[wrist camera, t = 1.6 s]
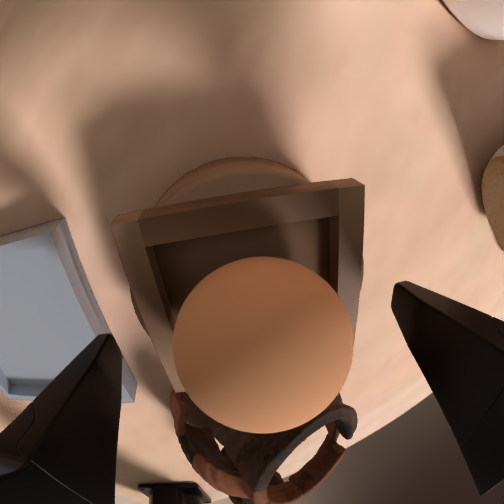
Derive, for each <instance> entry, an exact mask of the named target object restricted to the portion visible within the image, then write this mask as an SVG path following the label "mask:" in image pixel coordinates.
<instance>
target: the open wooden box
mask: <svg viewBox="0 0 504 504" xmlns="http://www.w3.org/2000/svg"><path fill="white" fill-rule="evenodd" d="M364 197H365V185H363V184H362V183H360V182H358V181H357V180H355V179H353V178H349V179H340V180H331V181H322V182H313V183H310V182H309V181H308V180H306V179H305V178H304V177H302V176H301V175H300V174H298V173H297V172H295V171H294V170H292V169H290V168H288V167H286V166H284V165H282V164H279V163H276V162H273V161H270V160H266V159H261V158H254V157H234V158H226V159H221V160H217V161H213V162H210V163H208V164H205V165H202V166H200V167H198V168H196V169H194V170H192V171H190V172H189V173H187V174H186V175H184V176H183V177H182V178H180V179H179V180H178V181H176V182H175V183H174V184H173V185H172V186H171V187H170V188H169V189H168V190H167V191H166V192H165V194H164V195H163V196H162V198H161V199H160V200H159V202H158V204H157V205H156V207H155V208H150V209H145V210H140V211H135V212H131V213H126V214H121V215H118V216H117V217H116V218H115V220H114V221H113V223H112V224H111V225H110V226H111V229H112V233H113V236H114V239H115V242H116V245H117V249H118V252H119V255H120V258H121V261H122V264H123V267H124V270H125V273H126V275H127V278H128V281H129V284H130V292H131V299H132V303H133V306H134V309H135V313H136V315H137V317H138V319H139V321H140V323H141V325H142V326H143V328H144V329H145V331H146V332H147V334H148V335H149V336H150V338H151V340H152V342H153V345H154V347H155V349H156V352H157V354H158V356H159V358H160V361H161V363H162V365H163V367H164V369H165V372H166V374H167V376H168V378H169V380H170V382H171V384H172V386H173V388H174V390H175V392H176V393H178V392H186V391H185V389H184V388H183V386H182V384H181V382H180V379H179V377H178V374H177V371H176V368H175V364H174V358H173V332H174V327H175V323H176V319H177V316H178V314H179V312H180V310H181V307H182V305H183V303H184V301H185V300H186V298H187V297H188V295H189V294H190V292H191V291H192V290H193V289H194V288H195V287H196V285H197V284H198V283H199V282H200V281H201V280H203V279H204V278H205V277H206V276H207V275H209V274H210V273H212V272H213V271H215V270H216V269H218V268H220V267H222V266H224V265H226V264H228V263H231V262H234V261H236V260H240V259H245V258H250V257H275V258H283V259H286V260H290V261H293V262H296V263H298V264H301V265H303V266H305V267H307V268H309V269H310V270H312V271H314V272H315V273H317V274H318V275H319V276H320V277H321V278H323V279H324V280H325V281H326V282H327V283H328V284H329V285H330V286H331V287H332V288H333V289H334V291H335V292H336V293H337V295H338V296H339V297H340V299H341V301H342V303H343V304H344V307H345V309H346V311H347V313H348V316H349V319H350V323H351V326H352V333H353V346H354V339H355V331H356V322H357V314H358V304H359V294H360V290H361V286H362V280H363V255H362V254H363V234H364Z"/></svg>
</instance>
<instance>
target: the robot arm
mask: <svg viewBox="0 0 504 504" xmlns="http://www.w3.org/2000/svg"><path fill="white" fill-rule="evenodd" d="M391 308H392V311H393V314H394V316H395V318H396V320H397V322H398V325H399V327H400V329H401V331H402V334H403V336H404V338H405V341H406V343H407V345H408V347H409V349H410V351H411V353H412V355H413V356H414V358H415V360H416V362H417V364H418V365H419V367H420V369H421V371H422V373H423V375H424V376H425V378H426V380H427V382H428V384H429V386H430V388H431V390H432V392H433V394H434V396H435V398H436V399H437V401H438V403H439V405H440V407H441V409H442V411H443V413H444V416H445V418H446V420H447V422H448V424H449V426H450V428H451V430H452V432H453V434H454V436H455V439H456V441H457V443H458V445H459V446H460V450H461V452H462V455H463V457H464V459H465V462H466V464H467V466H468V469H469V471H470V473H471V476H472V478H473V481H474V483H475V485H476V488H477V491H478V493H479V495H480V496H482V495H484V494H485V493H487V492H488V491H490V490H491V489H492V488H494V487H495V486H496V485H497V484H499V483H500V482H502V481H503V480H504V321H502V320H499V319H497V318H495V317H492V316H490V315H488V314H485V313H483V312H481V311H478V310H476V309H474V308H471V307H469V306H467V305H464V304H462V303H460V302H457V301H455V300H452V299H450V298H448V297H445V296H443V295H440V294H438V293H435V292H433V291H431V290H428V289H426V288H423V287H421V286H418V285H416V284H413V283H411V282H409V281H402V282H398V283H396V284H395V285H394V289H393V295H392V301H391ZM121 400H122V353H121V351H120V349H119V347H118V345H117V343H116V341H115V339H114V337H113V335H112V334H111V333H104V334H99V335H98V336H96V337H95V338H94V339H93V340H92V341H91V342H90V343H89V344H88V345H87V346H86V347H85V348H84V349H83V350H82V351H81V352H80V353H79V354H78V355H77V356H76V357H75V358H74V359H73V360H72V361H71V362H70V363H69V364H68V365H67V366H66V367H65V368H64V369H63V370H62V371H61V372H60V373H59V374H58V375H57V376H56V377H55V378H54V379H53V380H52V381H51V382H50V383H49V384H48V385H47V387H46V388H45V389H44V390H43V391H42V392H41V393H40V394H39V395H38V396H37V397H36V398H35V399H34V400H33V402H31V403H30V404H29V405H28V406H27V407H26V409H25V410H24V411H23V412H22V413H21V414H20V415H19V416H18V417H17V418H16V419H15V420H14V421H13V422H12V423H11V424H9V425H8V426H7V427H6V428H5V429H4V430H3V431H2V432H1V433H0V504H115V475H116V456H117V442H118V430H119V420H120V410H121ZM138 490H140V491H141V492H142V493H144V494H145V495H146V496H148V497H149V504H206V503H211V499H210V497H209V496H208V495H207V494H206V493H205V492H204V491H203V490H202V489H201V488H200V486H199V485H197V484H184V485H141V484H140V485H138ZM503 504H504V503H503Z"/></svg>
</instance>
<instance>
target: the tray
mask: <svg viewBox="0 0 504 504" xmlns="http://www.w3.org/2000/svg"><path fill="white" fill-rule="evenodd" d="M104 333H111V331H110V329H109V327H108V325H107V323H106V321H105V319H104V316H103V314H102V312H101V310H100V308H99V305H98V303H97V301H96V299H95V296H94V294H93V292H92V289H91V287H90V284H89V282H88V280H87V277H86V275H85V272H84V269H83V267H82V264H81V262H80V259H79V256H78V254H77V251H76V248H75V245H74V242H73V240H72V237H71V234H70V231H69V228H68V225H67V221H66V218H63V219H59V220H56V221H52V222H48V223H44V224H41V225H37V226H34V227H30V228H27V229H23V230H20V231H16V232H13V233H10V234H6V235H3V236H0V389H1V391H2V392H3V393H4V394H5V396H6V397H7V398H8V399H16V400H27V401H33V400H34V399H35V398H36V397H37V396H38V395H39V394H40V393H41V392H42V391H43V390H44V389H45V388H46V387H47V385H48V384H49V383H50V382H51V381H52V380H53V379H54V378H55V377H56V376H57V375H58V374H59V373H60V372H61V371H62V370H63V369H64V368H65V367H66V366H67V365H68V364H69V363H70V362H71V361H72V360H73V359H74V358H75V357H76V356H77V355H78V354H79V353H80V352H81V351H82V350H83V349H84V348H85V347H86V346H87V345H88V344H89V343H90V342H91V341H92V340H93V339H94V338H95V337H96V336H98V335H99V334H104ZM111 334H112V333H111ZM136 388H137V381H136V379H135V377H134V375H133V374H132V372H131V370H130V368H129V366H128V364H127V363H126V361H125V359H124V357H123V355H122V400H121V403H134V401H135V394H136Z"/></svg>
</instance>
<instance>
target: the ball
mask: <svg viewBox="0 0 504 504" xmlns="http://www.w3.org/2000/svg"><path fill="white" fill-rule="evenodd" d="M352 356H353V333H352V326H351V323H350V319H349V316H348V313H347V311H346V309H345V307H344V304H343V303H342V301H341V299H340V297H339V296H338V295H337V293H336V292H335V291H334V289H333V288H332V287H331V286H330V285H329V284H328V283H327V282H326V281H325V280H324V279H323V278H321V277H320V276H319V275H318V274H317V273H315V272H314V271H312V270H310V269H309V268H307V267H305V266H303V265H301V264H298V263H296V262H293V261H290V260H286V259H283V258H275V257H250V258H245V259H240V260H236V261H234V262H231V263H228V264H226V265H224V266H222V267H220V268H218V269H216V270H215V271H213V272H212V273H210V274H209V275H207V276H206V277H205V278H204V279H203V280H201V281H200V282H199V283H198V284H197V285H196V287H195V288H194V289H193V290H192V291H191V292H190V294H189V295H188V297H187V298H186V300H185V301H184V303H183V305H182V307H181V310H180V312H179V314H178V316H177V319H176V323H175V327H174V332H173V358H174V364H175V368H176V371H177V374H178V377H179V379H180V382H181V384H182V386H183V388H184V389H185V391H186V392H187V394H188V395H189V397H190V398H191V400H192V401H193V402H194V403H195V404H196V405H197V406H198V407H199V408H200V409H201V410H202V411H203V412H204V413H205V414H207V415H208V416H210V417H211V418H212V419H214V420H216V421H217V422H219V423H221V424H223V425H225V426H228V427H230V428H233V429H236V430H239V431H244V432H250V433H276V432H281V431H286V430H289V429H292V428H295V427H298V426H300V425H302V424H304V423H306V422H308V421H310V420H311V419H313V418H314V417H316V416H317V415H318V414H320V413H321V412H322V411H323V410H325V409H326V408H327V407H328V406H329V404H330V403H331V402H332V401H333V400H334V399H335V397H336V396H337V395H338V393H339V392H340V390H341V388H342V386H343V385H344V383H345V381H346V378H347V376H348V373H349V370H350V367H351V362H352Z"/></svg>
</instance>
